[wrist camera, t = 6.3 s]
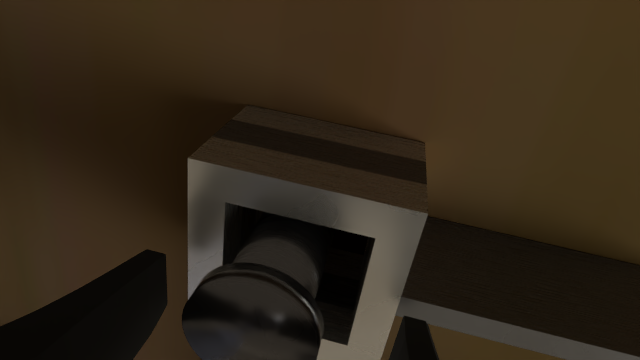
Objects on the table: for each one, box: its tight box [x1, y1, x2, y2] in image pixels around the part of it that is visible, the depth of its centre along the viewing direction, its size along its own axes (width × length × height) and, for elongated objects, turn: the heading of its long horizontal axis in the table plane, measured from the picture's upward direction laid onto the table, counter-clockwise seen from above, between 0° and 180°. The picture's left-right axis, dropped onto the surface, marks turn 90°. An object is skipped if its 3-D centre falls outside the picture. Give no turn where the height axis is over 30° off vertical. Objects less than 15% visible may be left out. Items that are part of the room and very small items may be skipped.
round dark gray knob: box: [182, 212, 336, 360], centre depth 15 cm, size 4×4×8 cm
